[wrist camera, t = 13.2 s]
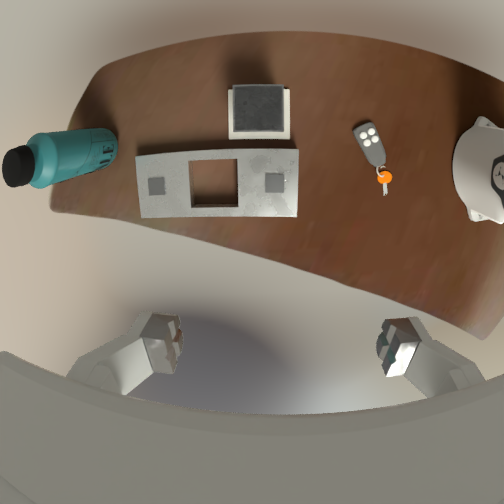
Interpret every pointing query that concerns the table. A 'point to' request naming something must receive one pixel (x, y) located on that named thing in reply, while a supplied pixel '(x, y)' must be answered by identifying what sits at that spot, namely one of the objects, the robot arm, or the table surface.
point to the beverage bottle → (59, 157)
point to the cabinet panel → (249, 183)
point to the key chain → (373, 150)
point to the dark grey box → (258, 108)
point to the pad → (261, 134)
